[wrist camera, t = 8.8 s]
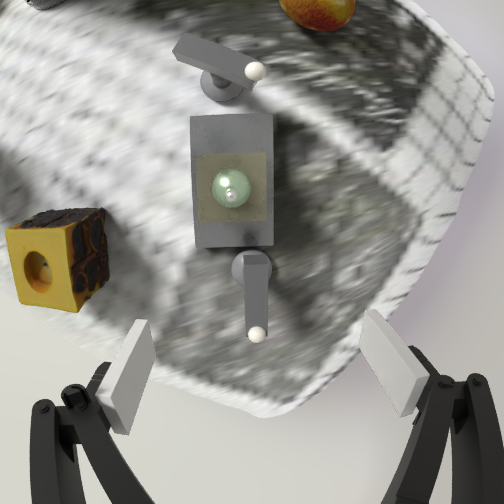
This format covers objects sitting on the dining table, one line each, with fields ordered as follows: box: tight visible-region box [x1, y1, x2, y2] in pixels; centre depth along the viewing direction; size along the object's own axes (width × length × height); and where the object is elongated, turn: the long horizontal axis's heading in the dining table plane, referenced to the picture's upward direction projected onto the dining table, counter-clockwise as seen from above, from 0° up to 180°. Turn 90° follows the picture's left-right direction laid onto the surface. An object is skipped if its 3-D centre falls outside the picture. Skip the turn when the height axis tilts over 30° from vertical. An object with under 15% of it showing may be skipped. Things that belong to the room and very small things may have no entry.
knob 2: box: [232, 248, 272, 343], centre depth 32 cm, size 8×5×10 cm, turn 1°
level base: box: [190, 114, 274, 248], centre depth 28 cm, size 15×9×11 cm, turn 1°
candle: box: [5, 207, 110, 313], centre depth 30 cm, size 10×10×10 cm
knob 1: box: [172, 32, 266, 101], centre depth 24 cm, size 8×5×10 cm, turn 63°
